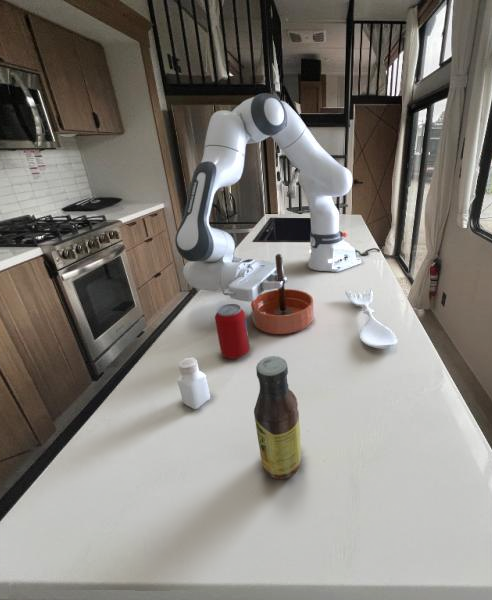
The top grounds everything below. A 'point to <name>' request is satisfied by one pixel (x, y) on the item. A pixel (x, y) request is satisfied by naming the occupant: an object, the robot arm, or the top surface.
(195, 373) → the pepper shaker
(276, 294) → the bowl
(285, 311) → the brown rod on stand
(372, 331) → the spoon
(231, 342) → the beverage can
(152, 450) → the top surface
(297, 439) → the sauce bottle
